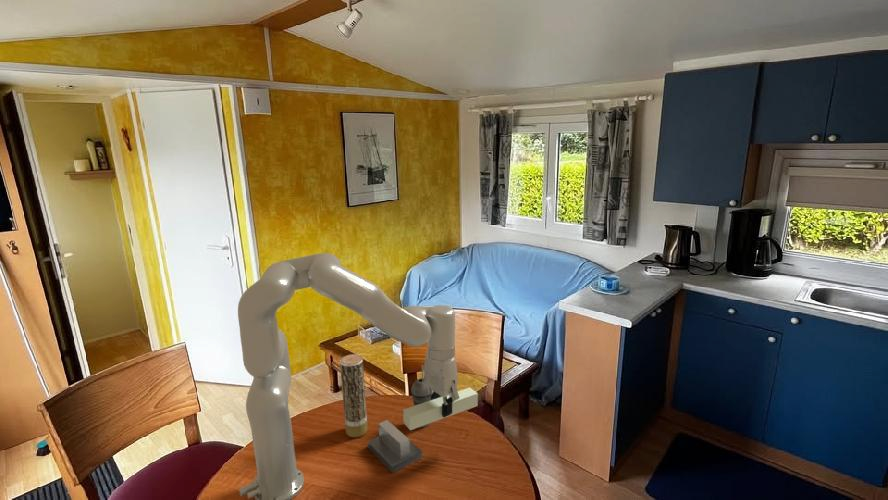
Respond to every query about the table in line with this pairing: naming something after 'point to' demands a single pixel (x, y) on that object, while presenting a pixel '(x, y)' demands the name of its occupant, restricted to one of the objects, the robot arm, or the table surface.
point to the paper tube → (353, 395)
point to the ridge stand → (393, 447)
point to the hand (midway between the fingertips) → (441, 410)
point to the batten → (438, 409)
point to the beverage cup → (420, 392)
